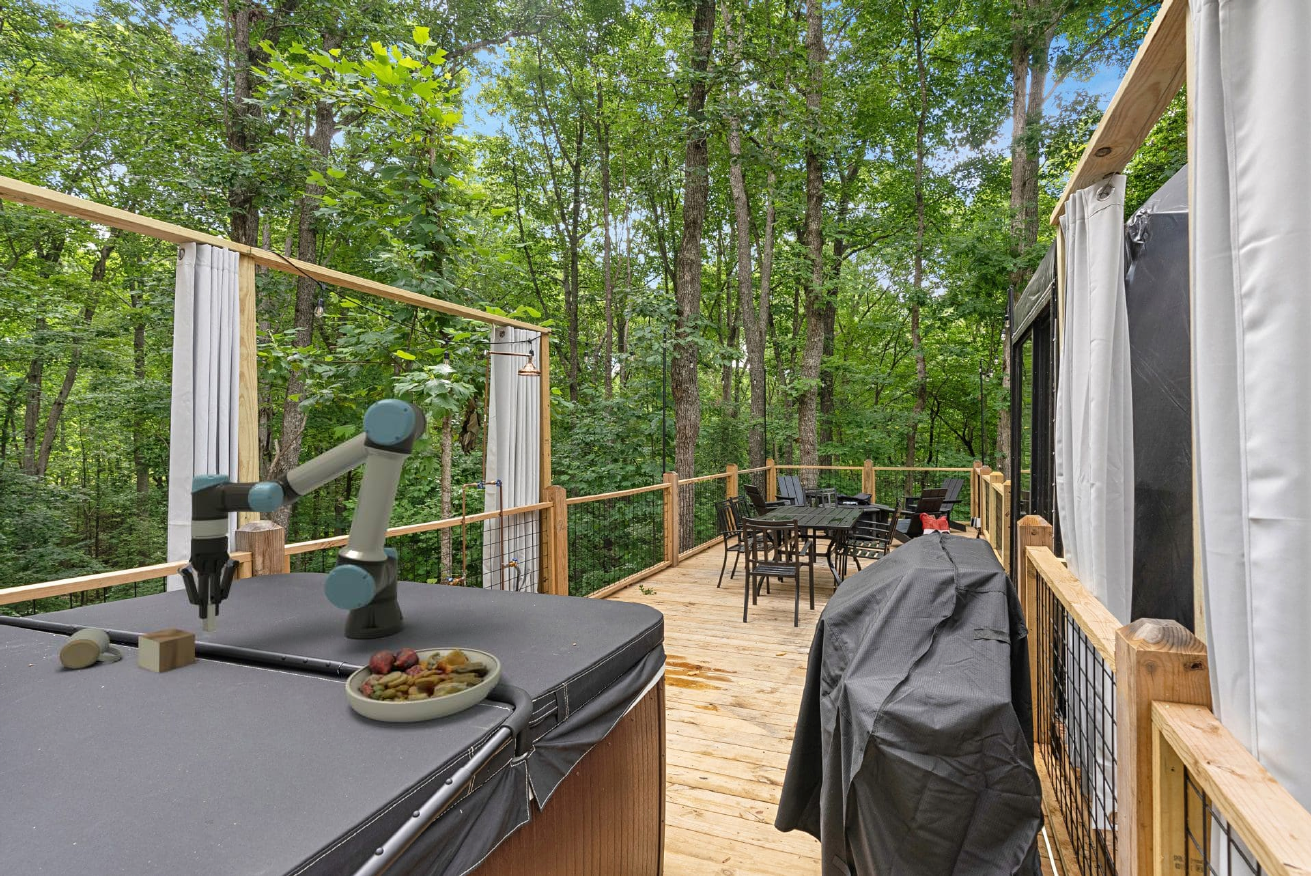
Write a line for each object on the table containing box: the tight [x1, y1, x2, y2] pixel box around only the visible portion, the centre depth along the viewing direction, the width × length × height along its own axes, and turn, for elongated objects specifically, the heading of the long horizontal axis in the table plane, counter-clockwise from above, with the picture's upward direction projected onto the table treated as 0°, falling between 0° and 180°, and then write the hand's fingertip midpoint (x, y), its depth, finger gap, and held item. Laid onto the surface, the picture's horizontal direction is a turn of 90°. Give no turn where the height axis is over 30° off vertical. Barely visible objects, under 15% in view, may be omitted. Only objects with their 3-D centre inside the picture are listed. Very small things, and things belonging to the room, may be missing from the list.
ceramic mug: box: [59, 627, 124, 670], centre depth 141 cm, size 11×8×8 cm
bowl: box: [344, 647, 502, 723], centre depth 124 cm, size 30×30×8 cm
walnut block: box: [137, 627, 196, 674], centre depth 141 cm, size 10×7×7 cm
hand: (208, 630), depth 149 cm, fingers closed
